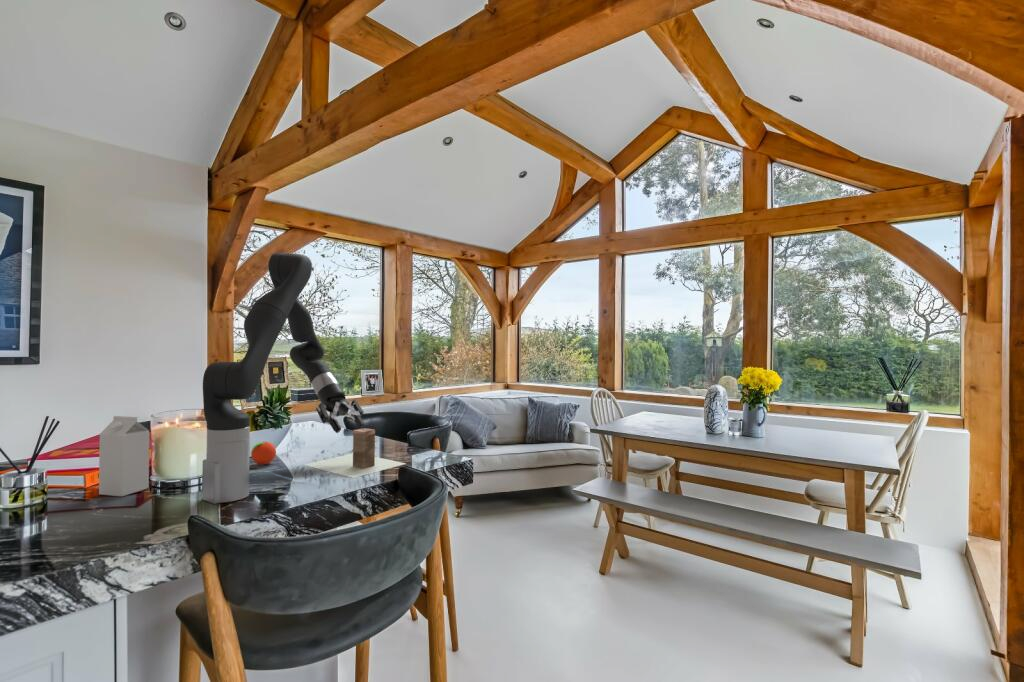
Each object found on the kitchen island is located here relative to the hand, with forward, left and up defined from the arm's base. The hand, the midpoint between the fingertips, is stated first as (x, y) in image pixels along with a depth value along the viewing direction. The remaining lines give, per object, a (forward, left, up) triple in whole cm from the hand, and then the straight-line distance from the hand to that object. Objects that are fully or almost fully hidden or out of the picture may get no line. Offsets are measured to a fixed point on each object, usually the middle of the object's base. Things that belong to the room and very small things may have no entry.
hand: (350, 429), depth 155 cm
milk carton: (-51, +23, -11) cm, 57 cm away
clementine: (-16, +22, -11) cm, 29 cm away
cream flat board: (0, -2, -11) cm, 11 cm away
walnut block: (0, -6, -11) cm, 12 cm away
